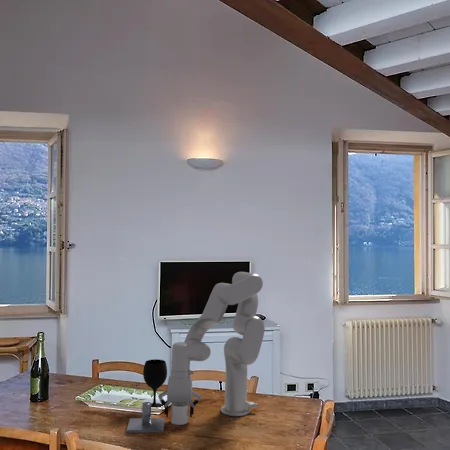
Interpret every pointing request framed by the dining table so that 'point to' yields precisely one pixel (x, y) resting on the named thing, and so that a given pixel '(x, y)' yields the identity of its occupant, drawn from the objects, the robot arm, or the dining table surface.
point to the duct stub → (146, 422)
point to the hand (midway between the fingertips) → (178, 416)
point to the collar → (179, 413)
